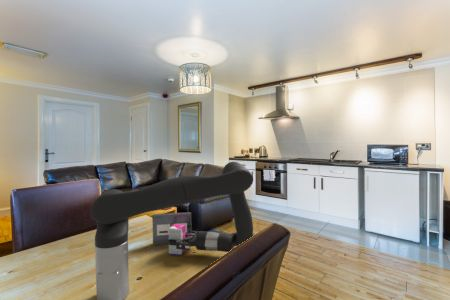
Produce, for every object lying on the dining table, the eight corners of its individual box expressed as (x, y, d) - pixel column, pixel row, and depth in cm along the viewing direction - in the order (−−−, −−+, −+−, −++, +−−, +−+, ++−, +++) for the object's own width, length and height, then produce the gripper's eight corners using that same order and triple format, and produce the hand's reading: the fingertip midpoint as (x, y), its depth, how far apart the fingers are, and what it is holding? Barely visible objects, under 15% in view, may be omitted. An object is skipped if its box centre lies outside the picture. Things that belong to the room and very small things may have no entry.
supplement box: (181, 255, 96) (180, 229, 96) (168, 254, 97) (167, 228, 97) (186, 249, 102) (185, 224, 101) (174, 248, 103) (173, 223, 103)
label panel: (191, 242, 109) (191, 213, 108) (152, 245, 106) (152, 215, 106) (191, 240, 111) (191, 212, 111) (153, 243, 109) (153, 214, 108)
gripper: (212, 226, 103) (179, 224, 107) (203, 239, 89) (164, 236, 93) (213, 242, 103) (179, 239, 107) (203, 258, 89) (165, 254, 93)
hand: (172, 238), depth 100 cm, fingers open, 7 cm apart
